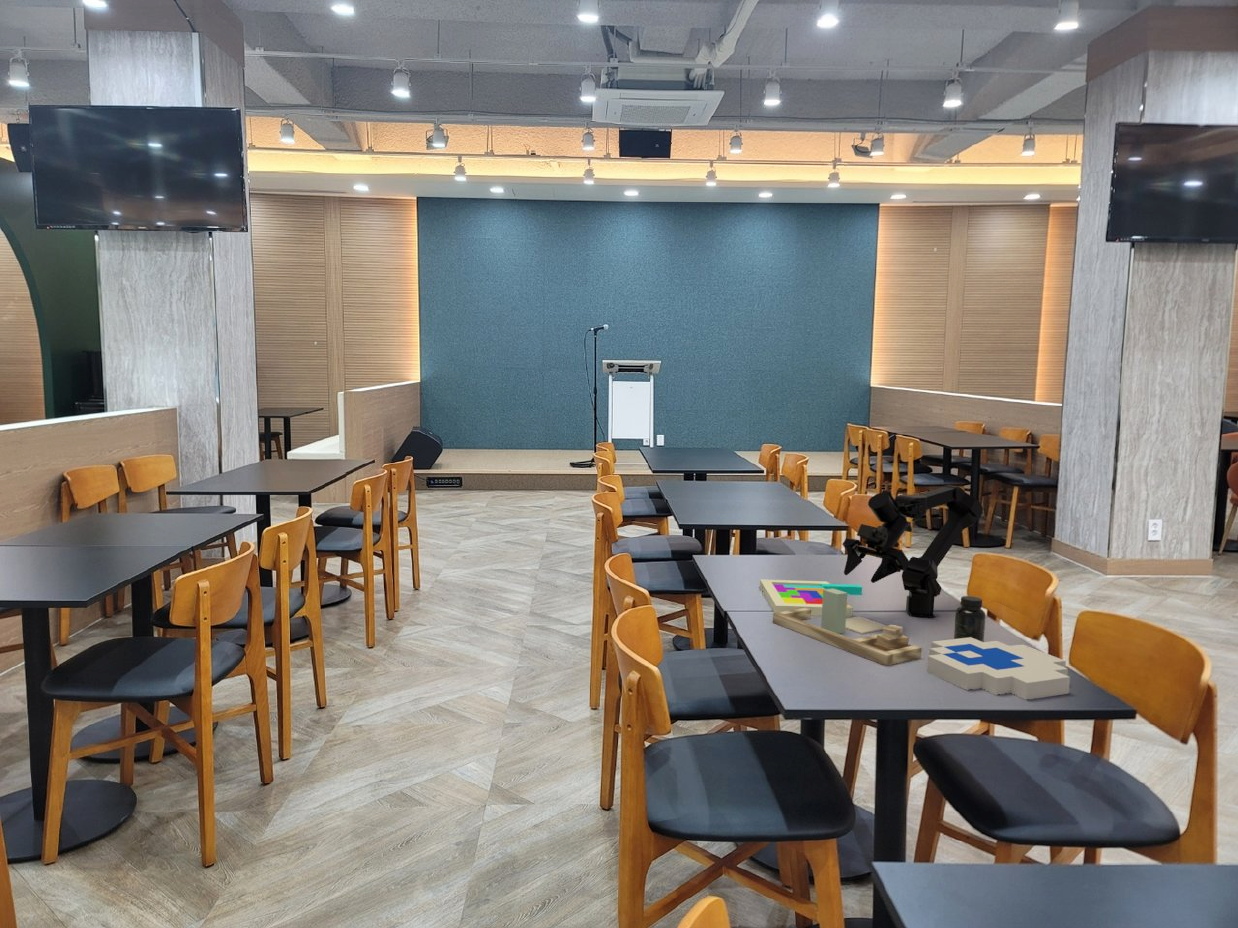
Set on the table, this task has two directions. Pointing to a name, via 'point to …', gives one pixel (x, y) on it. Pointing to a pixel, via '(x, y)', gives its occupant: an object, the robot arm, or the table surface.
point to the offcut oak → (892, 641)
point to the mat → (863, 625)
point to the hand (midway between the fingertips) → (858, 577)
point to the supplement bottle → (970, 619)
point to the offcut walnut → (887, 648)
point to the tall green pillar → (834, 610)
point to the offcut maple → (892, 631)
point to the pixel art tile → (998, 668)
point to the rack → (844, 639)
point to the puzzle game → (802, 594)
